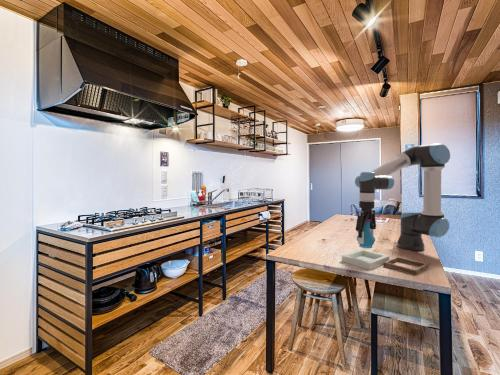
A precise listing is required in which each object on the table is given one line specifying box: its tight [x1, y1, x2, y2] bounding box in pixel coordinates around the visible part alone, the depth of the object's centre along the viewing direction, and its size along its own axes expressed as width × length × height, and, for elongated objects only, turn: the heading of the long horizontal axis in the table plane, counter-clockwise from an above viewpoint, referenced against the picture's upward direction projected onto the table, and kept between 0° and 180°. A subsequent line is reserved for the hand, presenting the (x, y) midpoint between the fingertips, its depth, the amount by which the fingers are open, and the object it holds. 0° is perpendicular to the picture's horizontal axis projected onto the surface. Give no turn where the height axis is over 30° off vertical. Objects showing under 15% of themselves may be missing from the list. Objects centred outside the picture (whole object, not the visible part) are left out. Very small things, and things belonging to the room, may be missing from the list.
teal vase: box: [356, 219, 376, 249], centre depth 141 cm, size 9×9×15 cm
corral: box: [383, 256, 429, 276], centre depth 133 cm, size 15×15×2 cm
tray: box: [341, 248, 391, 271], centre depth 142 cm, size 20×16×3 cm
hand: (365, 242), depth 142 cm, fingers closed on teal vase, 9 cm apart
